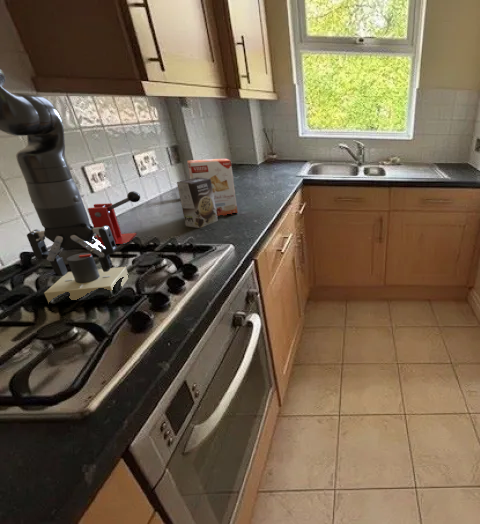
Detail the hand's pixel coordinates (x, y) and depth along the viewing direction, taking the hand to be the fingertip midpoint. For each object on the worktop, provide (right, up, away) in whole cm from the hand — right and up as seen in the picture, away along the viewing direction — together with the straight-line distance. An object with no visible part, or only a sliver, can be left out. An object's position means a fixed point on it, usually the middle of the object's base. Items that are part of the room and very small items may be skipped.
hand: (85, 272), depth 75 cm
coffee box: (+4, +15, +44) cm, 47 cm away
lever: (-10, +18, +24) cm, 32 cm away
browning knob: (0, -1, +1) cm, 2 cm away
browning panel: (0, -4, +2) cm, 5 cm away
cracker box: (+5, +21, +55) cm, 59 cm away
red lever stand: (-15, +8, +27) cm, 32 cm away
